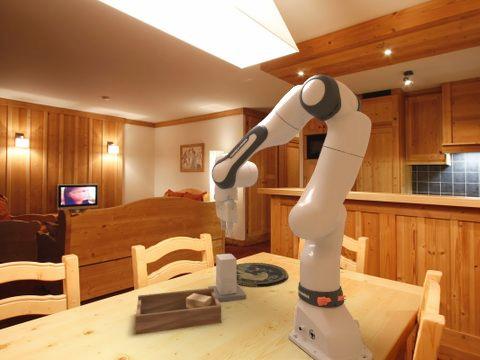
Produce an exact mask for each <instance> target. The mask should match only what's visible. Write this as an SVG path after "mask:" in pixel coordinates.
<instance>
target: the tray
mask: <svg viewBox="0 0 480 360" xmlns="http://www.w3.org/2000/svg"><path fill="white" fill-rule="evenodd" d="M193 293H195V294H200V295H205V296H210V297H212V306H206V307H198V308H190V309H189V308H186V298H187V297H189V296H190V295H192V294H193ZM135 311H136V312H135V335H139V334H141V335H142V334H146V333H154V332H161V331H168V330H169V331H170V330H174V329H182V328H189V327H197V326H203V325H204V326H206V325H211V324H218V323H222V304H221V302H219V301H218V299H217V297H216V295H215V293H214V288H208V287H207V288H206V287H205V288H198V289H188V290H180V291H169V292H160V293H149V294H141V295H138V296H137V305H136V310H135Z"/></svg>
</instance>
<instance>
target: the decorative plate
mask: <svg viewBox="0 0 480 360" xmlns="http://www.w3.org/2000/svg"><path fill="white" fill-rule="evenodd" d="M288 279H289V273H288V271H287V269H285V268H283V267H281V266H279V265H275V264H270V263H264V262H246V263H245V262H244V263H237V284H238V285H239V286H240V287H247V288H267V287H268V288H269V287H274V286H278V285H281V284H283V283H285V282H286V281H288Z"/></svg>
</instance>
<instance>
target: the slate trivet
mask: <svg viewBox="0 0 480 360" xmlns="http://www.w3.org/2000/svg"><path fill="white" fill-rule="evenodd" d="M207 288H214V293H215V295H216V297H217V299H218V301H219V303H222V302H223V303H225V302H231V301H239V300H246V299H247V294H246V293H245V292H244V291H243V289H242V288H241V286H239V285H238V284H237V293H233V294H225V295H220V293H219V291H218V290H217V288H216V285H211V286H207Z"/></svg>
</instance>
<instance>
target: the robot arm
mask: <svg viewBox="0 0 480 360" xmlns="http://www.w3.org/2000/svg"><path fill="white" fill-rule="evenodd" d="M312 119H317V120H318V121H320V122H324V123H325V124H326V126H327V133H326V136H325V139H324V142H323V144H322V148H321V150H320V153H319V157H318V159H317V163H316V165H315V168H314V171H313V173H312V175H311V177H310V179H309V181H308V183H307V185H306V186H305V188H304V190H303V192H302V193H301V196H300V197H299V199H298V201H297V203H296V204H295V205H294V206H293V207H292V208H291V210H290V212H289V214H288V220H287V222H288V226H289V228H290V231H291V232H292V233H293V234H294V235H295V236H296V237H298V238H299V239H301V240H304V243H303V248H302V250H301V252H300V255H299V256H300V257H299V282H298V286H297V293H298V294H297V295H298V301H297V302H296V304H295V306H294V308H293V309H294V310H293V319H292V324H293V325H292V330H291V331H290V332H289V333H288V339H289V340H290V341H292V342H293V344H295V345H296V346H298V347H299V348H300V349H301V350H302V351H304V352H305V353H306V354H308V355H309V357H311V358H312V359H314V360H373V359H374V356H373V355H374V354H373V352H372V351H370V349H369V348H368V347H367V346H366V345H365V344H364V342H363V338H362V333H361V329H360V322H359V320H357V319H354V318H353V316H352V314H351V313H350V311H349V309H348V307H347V306H346V304H345V301H346V300H347V298H346V297H347V296H346V295H344V292H343V289H342V286H341V255H342V247H343V242H344V234H345V227H346V221H347V217H348V212H347V208H346V205H344V202H345V200H346V198H347V197H348V194H349V193H350V191H351V190H352V188H353V187H354V185H355V183H356V180H357V177H358V174H359V171H360V169H361V166H362V164H363V161H364V158H365V155H366V152H367V149H368V146H369V141H370V137H371V131H372V121H371V119H370V117H369V116H367V114H365V113H363V112H362V102H361V98H360V97H359V96H358V95H357V93H356V92H355V91H353V90H351V89H350V88H349V87H348V86H347V85H346V84H345V83H343V82H341V81H339V80H338V79H337V80H336V79H335V78H334V77H332V76H331V75H325V74H315V75H313V76H310V77H309V78H308V79H307V80H306V81H305V82H304V83H303V84H298V85H296V86H294V87H293V88H292V89H290V91H288V92H287V93H286V94H285V95H284V96H283V97H282V98H281V99H280V101H279V102H278V103H277V104H276V105H275V107H274V108H273V109H272V110H271V111H270V113H269V114H268V115H267V116H265V118H264V119H263V120H262V121H260V122H259V123H258V124H257V125H255V126H254V127H252V128H251V129H250V130H249V131H248V132H247V133H246V134H245V135H244V136H243V137H242V138H241V139H240V140H239V141H238V142H237V144H236V145H234V147H233V148H232V149H231V150H230V151H229V152H224V153H219V154H218V155H217V156H216V157H215V161H214V165H213V167H212V170H211V178H212V181H213V182H214V195H213V199H214V201H215V211H216V216H217V218H218V219H219V223H220V225H221V227H220V230H222V231H226V234H227V235H233V228H234V224H237V223H238V221H239V220H238V219H239V218H238V216H239V215H238V205H237V202H236V201H238V200H239V199H238V198H239V197H238V194H239V193H238V189H240V188H249V187H253V186H255V184H256V183H257V182H258V179H259V176H260V175H259V174H260V173H259V169H258V167H257V165H256V164H255V163H254V162H251V161H249V160H250V159H251V158H252V157H253V156H254V155H255V154H256V153H257V152H259V151H261V150H264V149H266V148H271V147H274V146H281V145H286V144H287V143H289V142H290V141H292V140H293V139H295V138H296V137H297V135H298V134H300V132H301V131H302V129H303V128H304V127H305V126H306V125H307V124H308V123H309V121H310V120H312Z"/></svg>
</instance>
